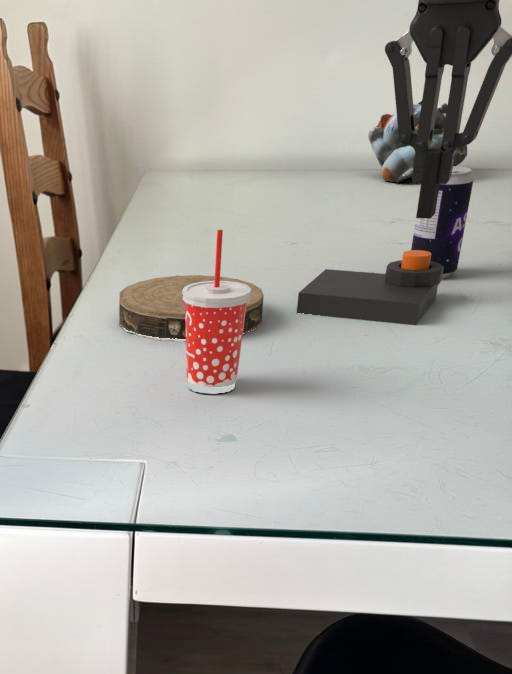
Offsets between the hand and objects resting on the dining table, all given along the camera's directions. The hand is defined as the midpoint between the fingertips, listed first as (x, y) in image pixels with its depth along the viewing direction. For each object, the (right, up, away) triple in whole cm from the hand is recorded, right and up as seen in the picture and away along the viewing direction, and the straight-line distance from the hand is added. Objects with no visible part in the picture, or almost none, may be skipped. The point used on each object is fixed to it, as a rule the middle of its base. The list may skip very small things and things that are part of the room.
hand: (425, 215), depth 109 cm
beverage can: (+6, -2, +14) cm, 16 cm away
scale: (-5, -8, +5) cm, 11 cm away
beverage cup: (-26, -23, -14) cm, 37 cm away
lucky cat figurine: (+24, +36, +68) cm, 81 cm away
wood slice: (-25, -11, +3) cm, 28 cm away
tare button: (0, -5, +3) cm, 6 cm away
